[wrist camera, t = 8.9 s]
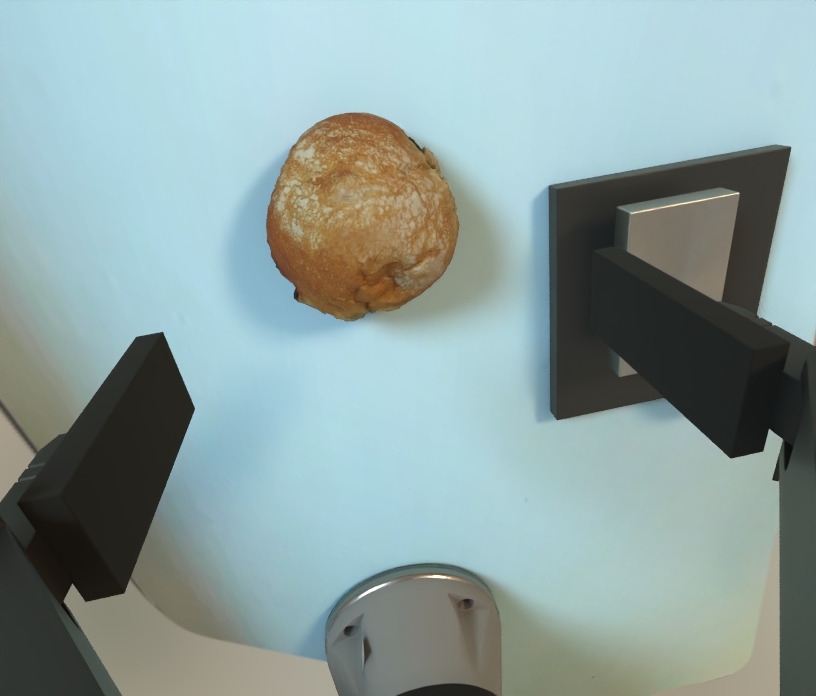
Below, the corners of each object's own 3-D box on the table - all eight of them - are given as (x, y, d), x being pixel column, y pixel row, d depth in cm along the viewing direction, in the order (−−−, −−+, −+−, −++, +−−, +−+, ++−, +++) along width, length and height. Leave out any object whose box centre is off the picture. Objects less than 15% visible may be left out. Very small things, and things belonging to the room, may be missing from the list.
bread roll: (448, 209, 33) (524, 184, 25) (369, 348, 31) (425, 365, 24) (316, 105, 29) (361, 39, 21) (220, 259, 27) (233, 246, 20)
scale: (741, 381, 38) (772, 403, 36) (550, 421, 37) (567, 447, 35) (790, 141, 30) (835, 147, 28) (548, 185, 29) (570, 195, 27)
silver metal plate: (696, 347, 32) (712, 358, 31) (606, 365, 32) (619, 377, 31) (720, 186, 28) (740, 191, 26) (615, 206, 27) (630, 212, 26)
